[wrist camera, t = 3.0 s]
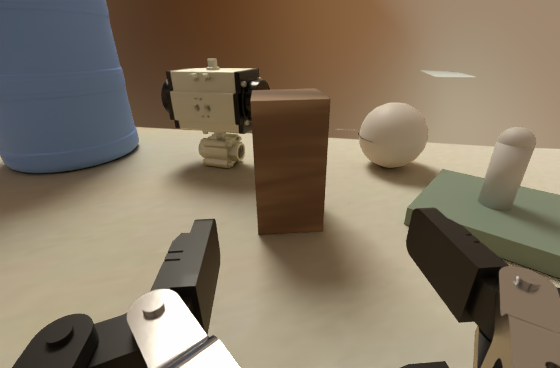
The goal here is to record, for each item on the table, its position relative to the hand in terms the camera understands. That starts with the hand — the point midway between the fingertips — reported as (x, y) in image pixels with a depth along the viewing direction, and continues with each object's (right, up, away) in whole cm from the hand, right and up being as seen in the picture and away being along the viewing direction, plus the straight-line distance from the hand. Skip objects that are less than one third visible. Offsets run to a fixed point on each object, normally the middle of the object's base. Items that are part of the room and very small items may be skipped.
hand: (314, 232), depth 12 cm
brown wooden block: (-1, -1, +13) cm, 13 cm away
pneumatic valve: (-9, +4, +24) cm, 26 cm away
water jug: (-30, +6, +29) cm, 42 cm away
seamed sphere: (+10, +4, +23) cm, 26 cm away
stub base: (+16, -1, +12) cm, 20 cm away
